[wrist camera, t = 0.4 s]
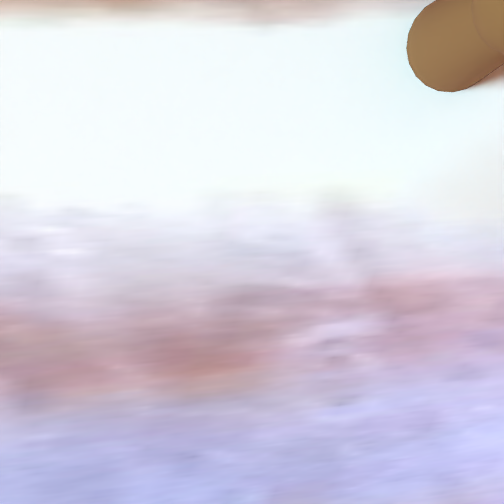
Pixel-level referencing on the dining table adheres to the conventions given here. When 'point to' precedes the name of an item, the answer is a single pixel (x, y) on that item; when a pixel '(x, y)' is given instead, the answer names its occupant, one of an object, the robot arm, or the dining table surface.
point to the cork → (456, 43)
